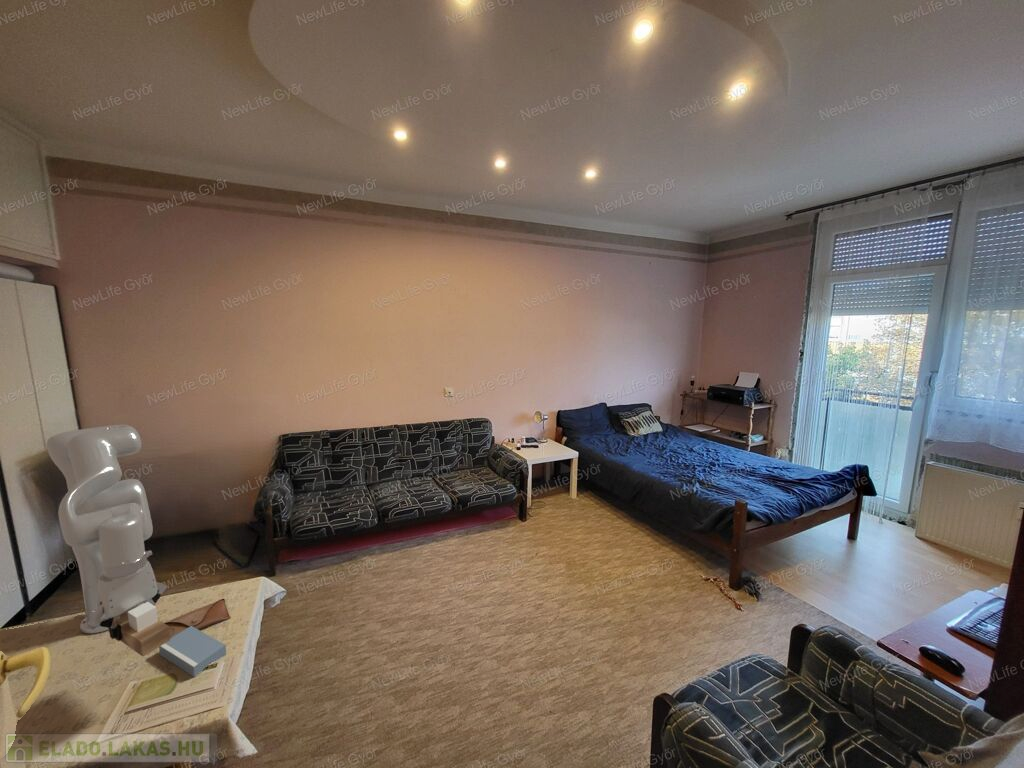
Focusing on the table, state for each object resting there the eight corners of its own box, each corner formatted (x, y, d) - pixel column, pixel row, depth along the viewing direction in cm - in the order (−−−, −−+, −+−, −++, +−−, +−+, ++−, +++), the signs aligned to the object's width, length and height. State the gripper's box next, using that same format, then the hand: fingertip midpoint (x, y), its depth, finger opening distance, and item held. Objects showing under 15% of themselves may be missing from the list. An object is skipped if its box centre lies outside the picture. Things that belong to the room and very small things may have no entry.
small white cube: (129, 626, 98) (127, 611, 97) (149, 615, 101) (147, 601, 101) (137, 632, 96) (136, 617, 95) (158, 621, 100) (156, 606, 99)
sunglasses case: (158, 651, 112) (154, 627, 113) (155, 650, 116) (151, 627, 118) (233, 617, 126) (228, 595, 127) (228, 617, 130) (224, 596, 131)
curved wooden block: (108, 632, 100) (106, 618, 100) (136, 617, 105) (134, 604, 105) (142, 656, 94) (141, 642, 93) (170, 640, 99) (168, 626, 98)
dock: (160, 654, 111) (158, 644, 110) (192, 634, 118) (191, 625, 118) (194, 677, 105) (193, 666, 104) (226, 654, 112) (225, 644, 112)
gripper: (159, 543, 107) (165, 603, 110) (68, 580, 91) (79, 649, 94) (174, 551, 104) (181, 612, 107) (84, 591, 88) (94, 661, 91)
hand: (133, 629), depth 101 cm, fingers closed on curved wooden block, 5 cm apart
